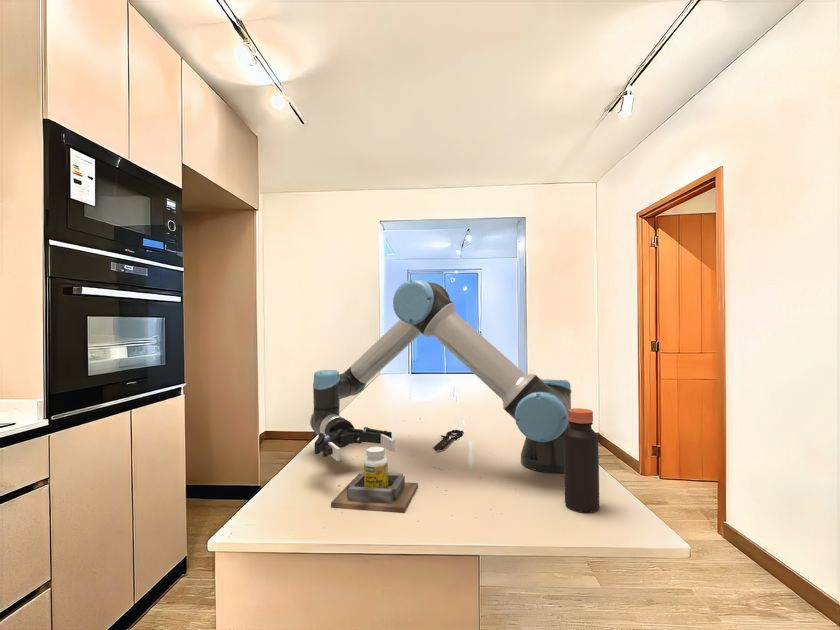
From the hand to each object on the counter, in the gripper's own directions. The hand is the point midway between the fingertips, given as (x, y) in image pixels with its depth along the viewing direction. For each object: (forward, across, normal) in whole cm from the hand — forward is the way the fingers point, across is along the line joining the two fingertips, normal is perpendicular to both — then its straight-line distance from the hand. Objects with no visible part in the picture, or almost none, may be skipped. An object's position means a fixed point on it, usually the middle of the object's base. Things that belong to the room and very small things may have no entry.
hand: (366, 450), depth 102 cm
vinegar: (+32, -35, -9) cm, 48 cm away
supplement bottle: (+5, 0, -8) cm, 10 cm away
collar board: (+5, 0, -9) cm, 10 cm away
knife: (-25, -39, -10) cm, 47 cm away
